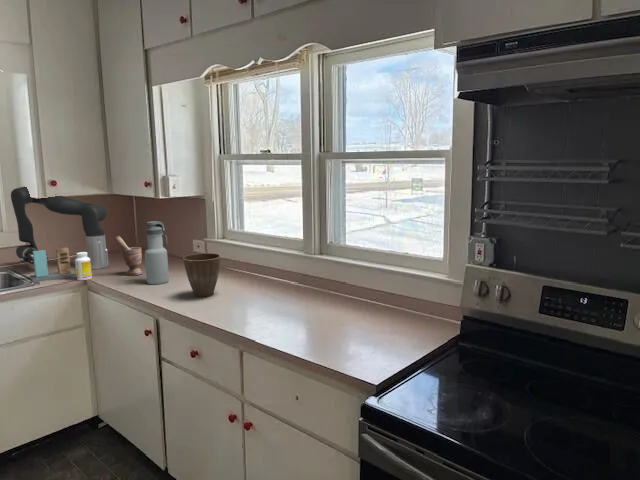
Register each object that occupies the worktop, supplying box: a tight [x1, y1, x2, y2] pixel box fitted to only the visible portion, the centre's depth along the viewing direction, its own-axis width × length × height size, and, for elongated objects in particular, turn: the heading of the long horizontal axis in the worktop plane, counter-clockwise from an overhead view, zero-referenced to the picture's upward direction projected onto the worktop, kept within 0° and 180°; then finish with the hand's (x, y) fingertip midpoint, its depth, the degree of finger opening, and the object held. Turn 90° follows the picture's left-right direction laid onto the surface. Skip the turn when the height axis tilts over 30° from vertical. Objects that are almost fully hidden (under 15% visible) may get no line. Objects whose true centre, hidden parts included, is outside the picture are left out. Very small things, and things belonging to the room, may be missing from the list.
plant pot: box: [182, 252, 221, 298], centre depth 210 cm, size 15×15×16 cm
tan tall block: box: [55, 247, 72, 274], centre depth 251 cm, size 5×4×12 cm
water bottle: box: [144, 220, 170, 286], centre depth 233 cm, size 10×10×28 cm
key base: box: [29, 269, 77, 283], centre depth 249 cm, size 19×10×2 cm, turn 126°
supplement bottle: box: [74, 251, 93, 281], centre depth 244 cm, size 7×7×13 cm
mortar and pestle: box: [114, 235, 144, 277], centre depth 249 cm, size 12×9×20 cm
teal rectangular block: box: [33, 249, 49, 277], centre depth 245 cm, size 5×4×12 cm
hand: (36, 260), depth 255 cm, fingers closed
